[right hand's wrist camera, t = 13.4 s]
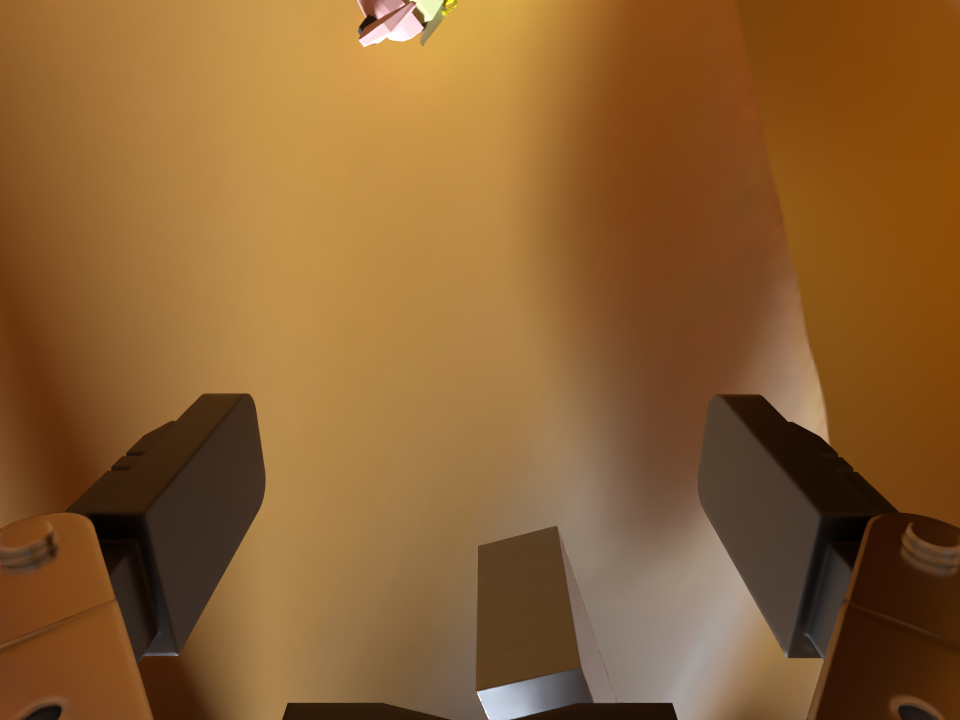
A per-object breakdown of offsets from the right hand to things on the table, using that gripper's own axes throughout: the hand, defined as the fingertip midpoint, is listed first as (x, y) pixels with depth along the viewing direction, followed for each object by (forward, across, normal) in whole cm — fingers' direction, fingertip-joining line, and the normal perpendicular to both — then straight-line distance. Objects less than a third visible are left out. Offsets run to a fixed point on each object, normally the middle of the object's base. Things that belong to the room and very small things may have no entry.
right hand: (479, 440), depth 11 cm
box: (+26, -6, +34) cm, 43 cm away
